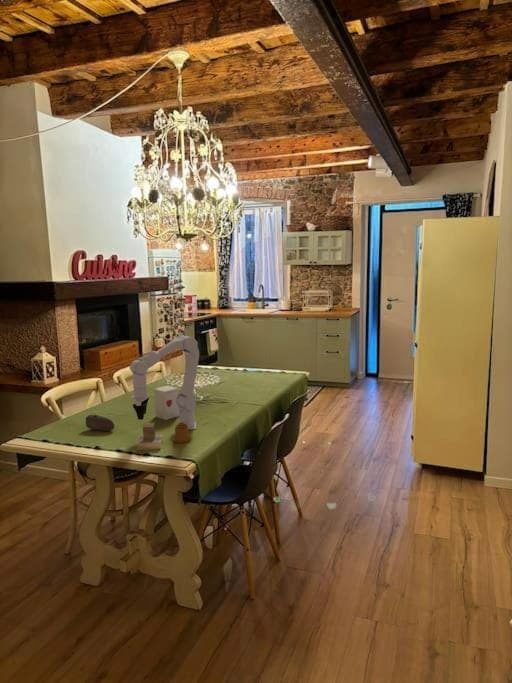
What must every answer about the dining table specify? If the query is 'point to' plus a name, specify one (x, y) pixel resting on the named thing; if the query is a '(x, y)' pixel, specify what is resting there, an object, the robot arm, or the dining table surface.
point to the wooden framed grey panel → (150, 443)
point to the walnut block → (149, 431)
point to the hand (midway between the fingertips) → (142, 416)
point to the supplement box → (166, 402)
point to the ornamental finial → (181, 433)
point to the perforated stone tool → (99, 423)
